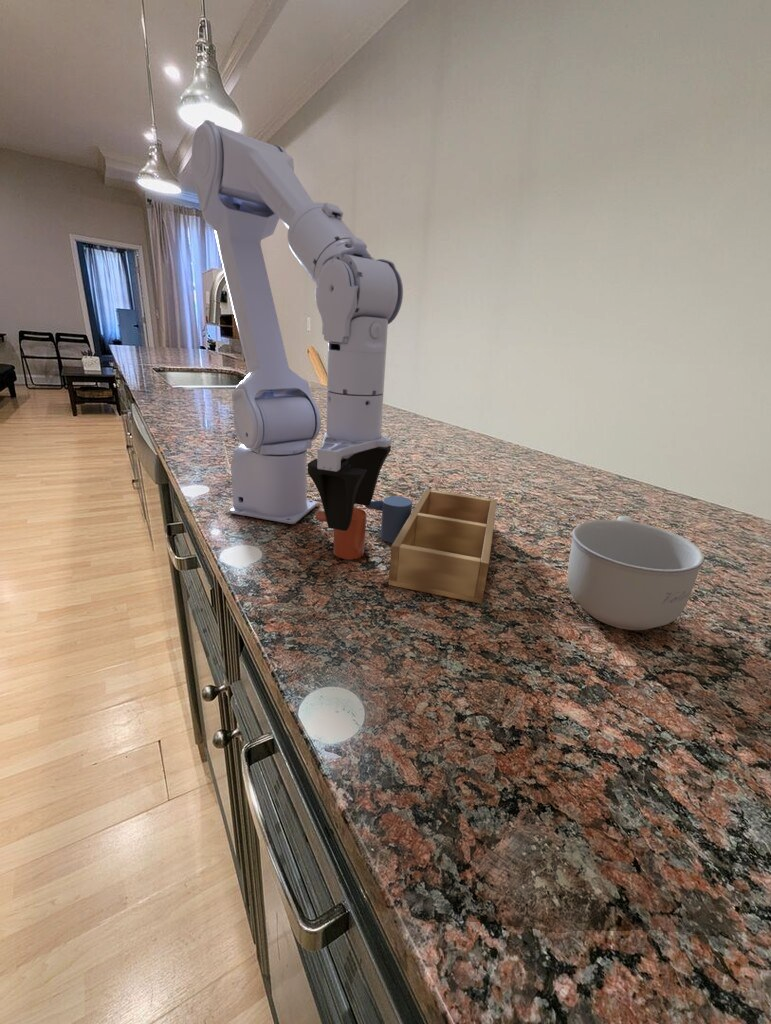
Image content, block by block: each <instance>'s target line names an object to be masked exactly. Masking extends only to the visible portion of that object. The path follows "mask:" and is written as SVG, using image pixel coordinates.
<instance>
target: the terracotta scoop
mask: <svg viewBox="0 0 771 1024" xmlns="http://www.w3.org/2000/svg"><path fill="white" fill-rule="evenodd" d="M314 518H315V519H316V520H317V521H318V522H323V523H327V520H326V516H325V512H324V510H318V511H317V512H316V513H315V517H314ZM366 525H367V512H366V511H365V510H363V509H361V508H358V507H354V508H353V514H352V519H351V523H350V526H349V529H348V530H347V531H343V530H337V529H333V548H332V549H333V550H332V551H333V554H334V555H335V556H336V558H339V559H342V560H357V559H360V558H362V557H363V556H364V554H365V548H366V547H365V546H366V545H365V544H366V529H367V528H366V527H367V526H366Z"/></svg>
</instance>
